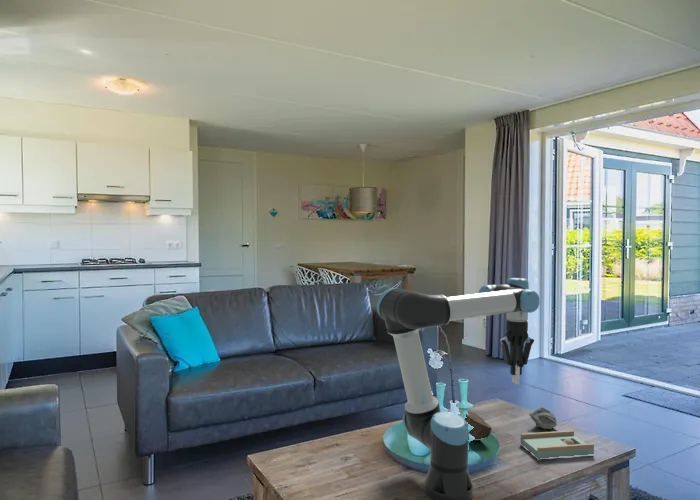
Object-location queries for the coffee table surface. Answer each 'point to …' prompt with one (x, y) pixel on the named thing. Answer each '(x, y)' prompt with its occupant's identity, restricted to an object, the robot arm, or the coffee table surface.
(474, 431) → the rock
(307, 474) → the coffee table surface
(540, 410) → the fossil
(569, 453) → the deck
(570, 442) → the ball
